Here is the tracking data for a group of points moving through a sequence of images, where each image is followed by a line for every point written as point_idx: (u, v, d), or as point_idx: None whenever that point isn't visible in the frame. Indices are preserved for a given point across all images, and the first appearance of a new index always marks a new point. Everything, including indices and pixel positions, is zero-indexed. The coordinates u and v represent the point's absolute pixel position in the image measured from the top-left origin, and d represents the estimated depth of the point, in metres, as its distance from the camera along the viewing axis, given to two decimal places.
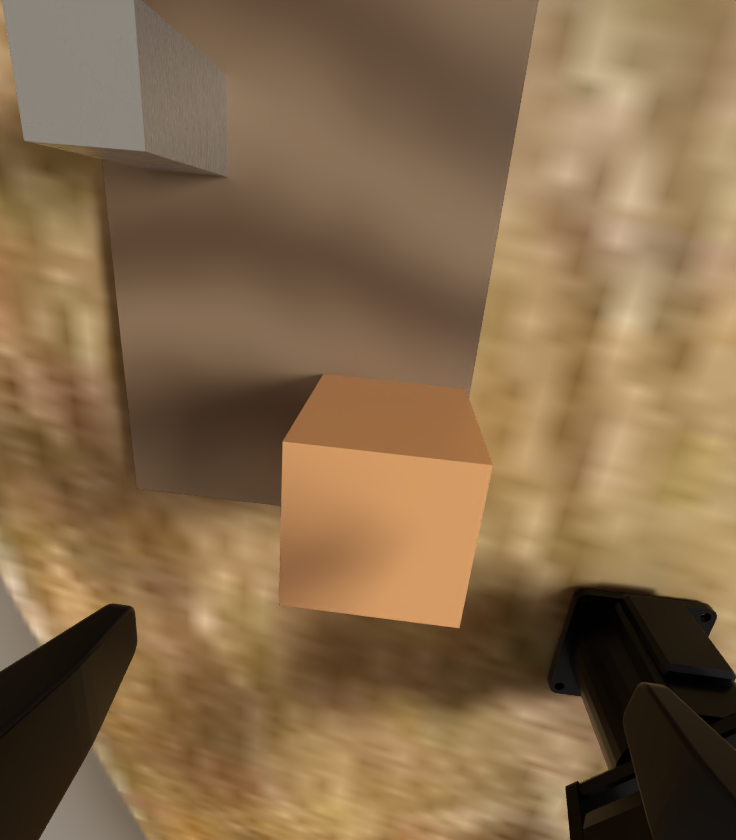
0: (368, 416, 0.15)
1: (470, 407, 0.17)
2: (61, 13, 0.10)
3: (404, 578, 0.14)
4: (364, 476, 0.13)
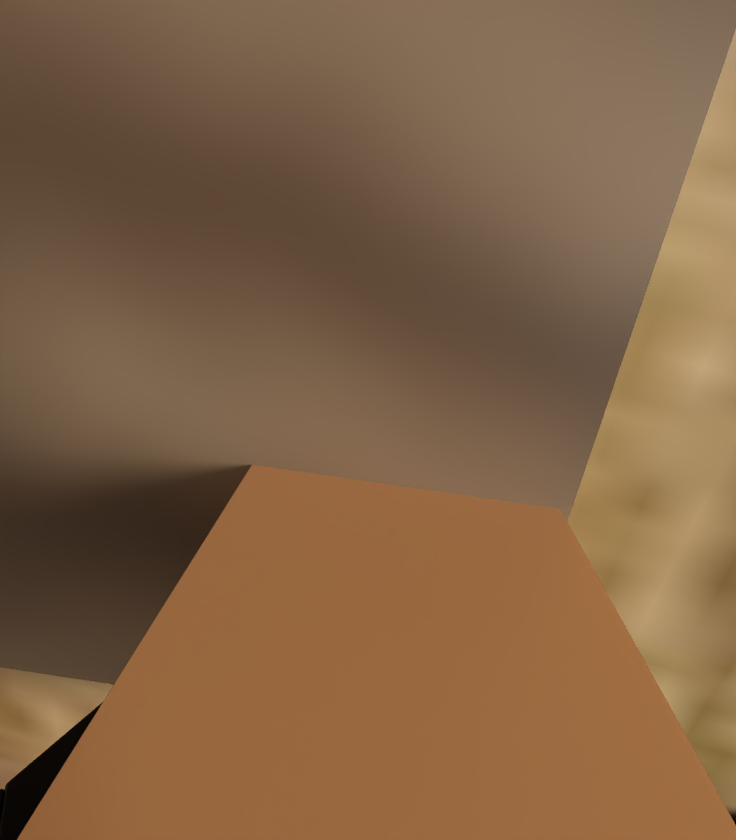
0: (340, 680, 0.05)
1: (604, 595, 0.07)
2: None
3: None
4: None
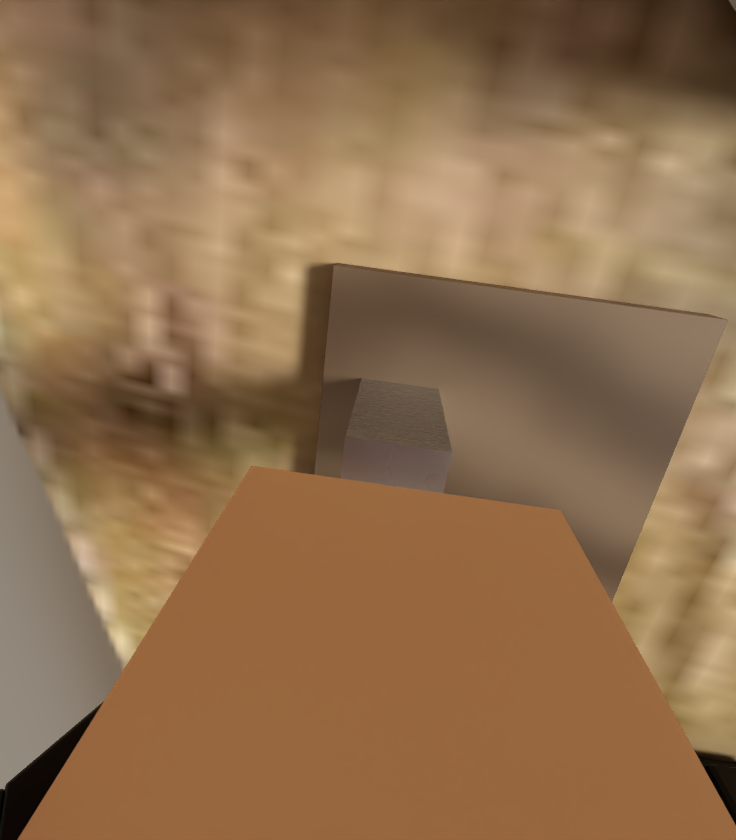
0: (340, 683, 0.05)
1: (605, 597, 0.07)
2: (390, 457, 0.13)
3: None
4: None
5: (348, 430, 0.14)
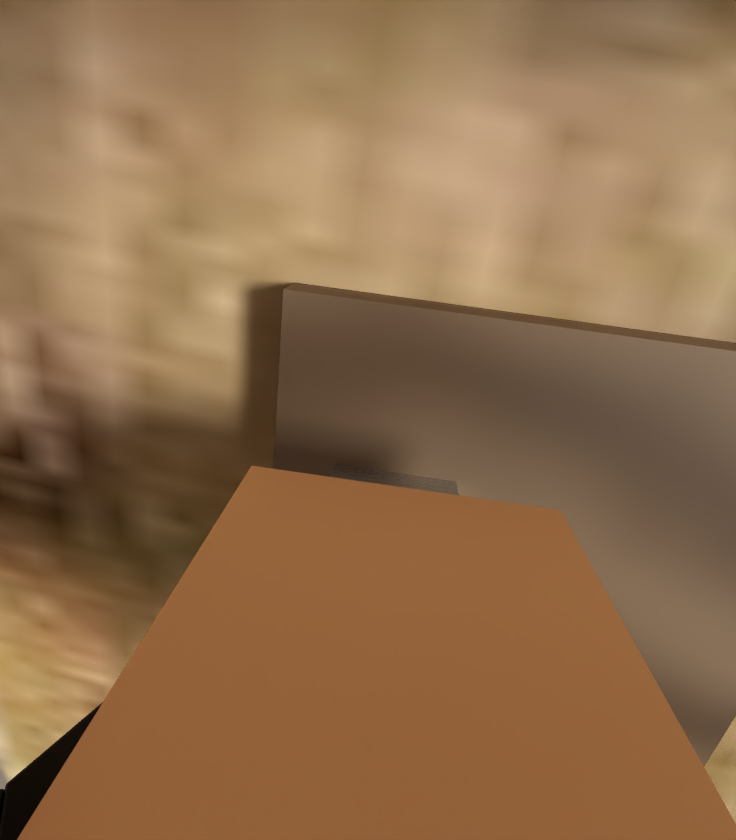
0: (340, 683, 0.05)
1: (605, 596, 0.07)
2: None
3: None
4: None
5: None
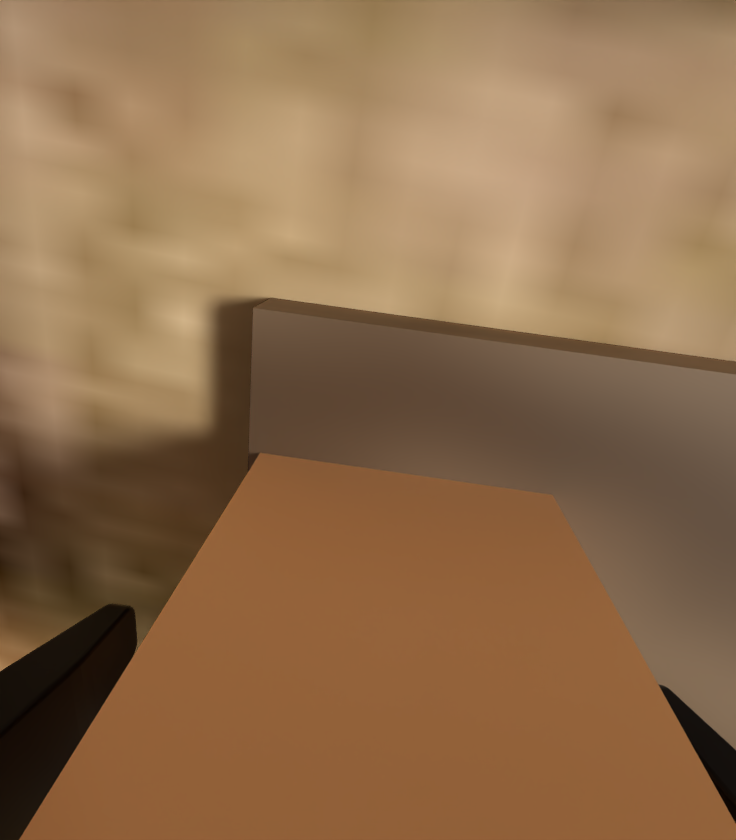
0: (346, 642, 0.05)
1: (591, 571, 0.07)
2: None
3: None
4: None
5: None
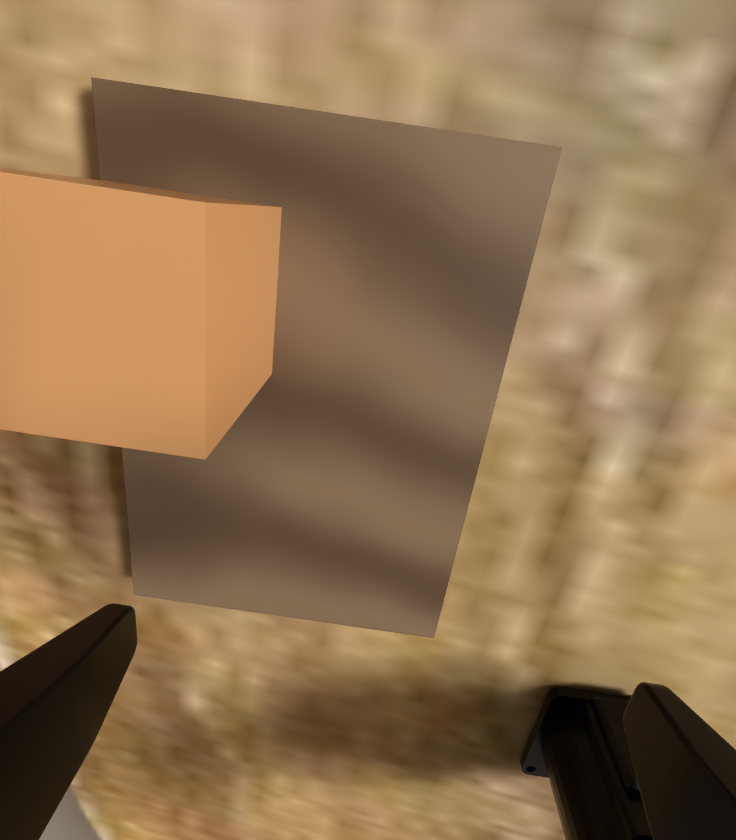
0: (99, 183, 0.11)
1: (262, 205, 0.13)
2: None
3: (122, 384, 0.11)
4: (37, 219, 0.09)
5: None
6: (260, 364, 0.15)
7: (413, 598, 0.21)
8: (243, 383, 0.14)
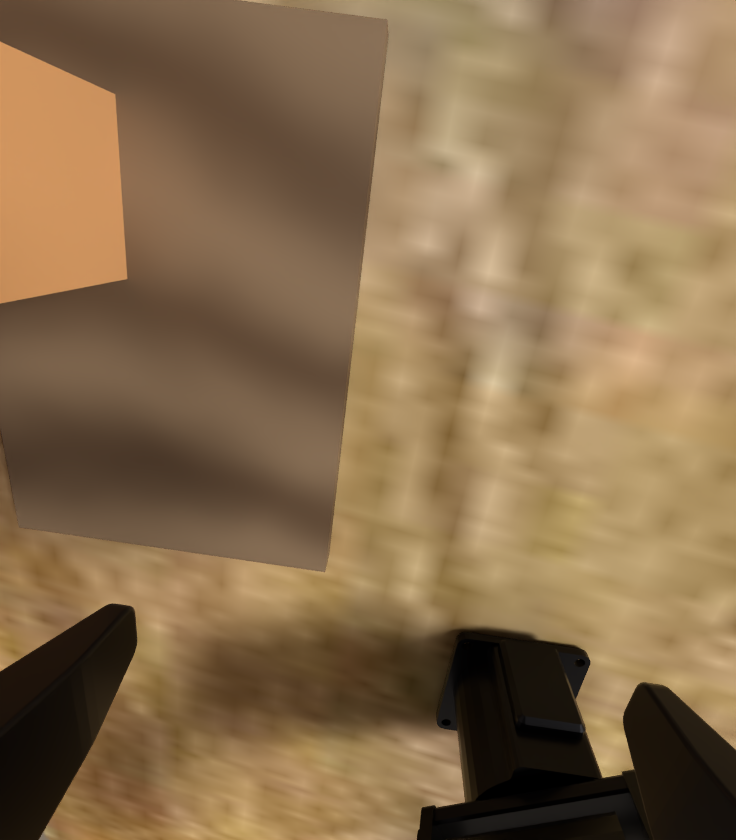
0: None
1: (68, 73, 0.13)
2: None
3: None
4: None
5: None
6: (95, 255, 0.15)
7: (299, 527, 0.21)
8: (56, 259, 0.13)
